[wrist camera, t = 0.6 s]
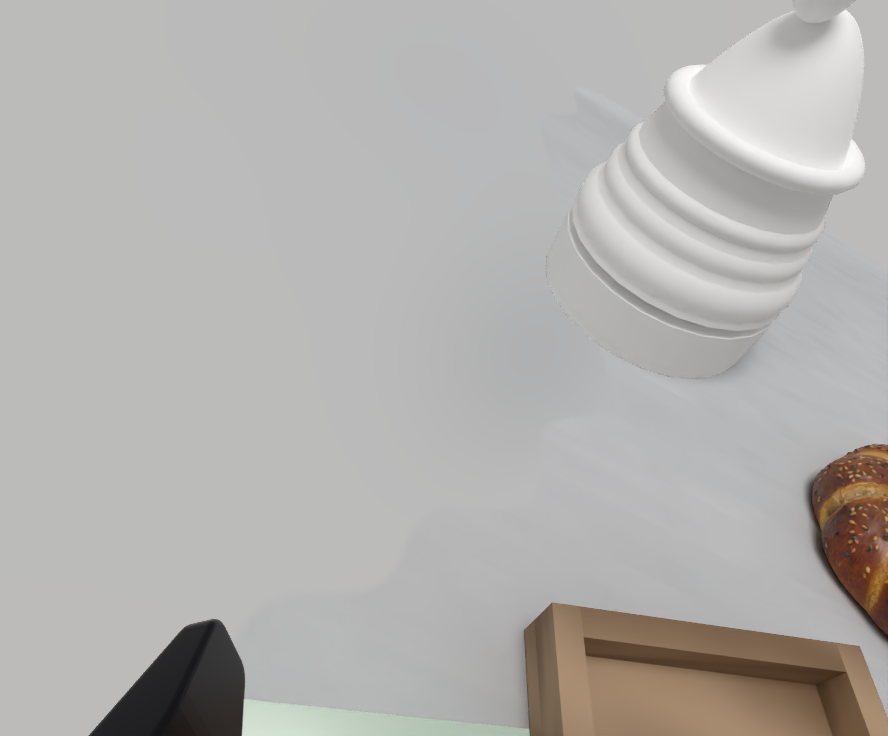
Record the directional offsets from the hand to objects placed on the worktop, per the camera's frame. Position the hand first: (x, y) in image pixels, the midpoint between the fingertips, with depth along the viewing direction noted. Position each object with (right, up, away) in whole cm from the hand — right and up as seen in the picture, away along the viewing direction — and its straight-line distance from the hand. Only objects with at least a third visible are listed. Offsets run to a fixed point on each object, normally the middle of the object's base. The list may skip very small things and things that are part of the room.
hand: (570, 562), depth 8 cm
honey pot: (+10, +7, +31) cm, 33 cm away
